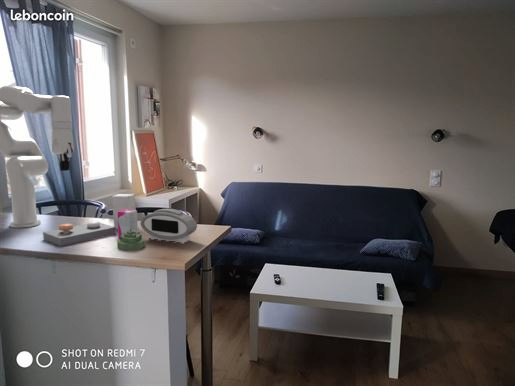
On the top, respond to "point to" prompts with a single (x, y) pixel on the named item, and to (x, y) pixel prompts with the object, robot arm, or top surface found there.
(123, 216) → the supplement box
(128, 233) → the decorative artifact
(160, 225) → the alarm clock
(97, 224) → the grey button
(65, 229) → the terracotta button
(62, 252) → the top surface
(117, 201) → the skincare box
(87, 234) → the button panel
